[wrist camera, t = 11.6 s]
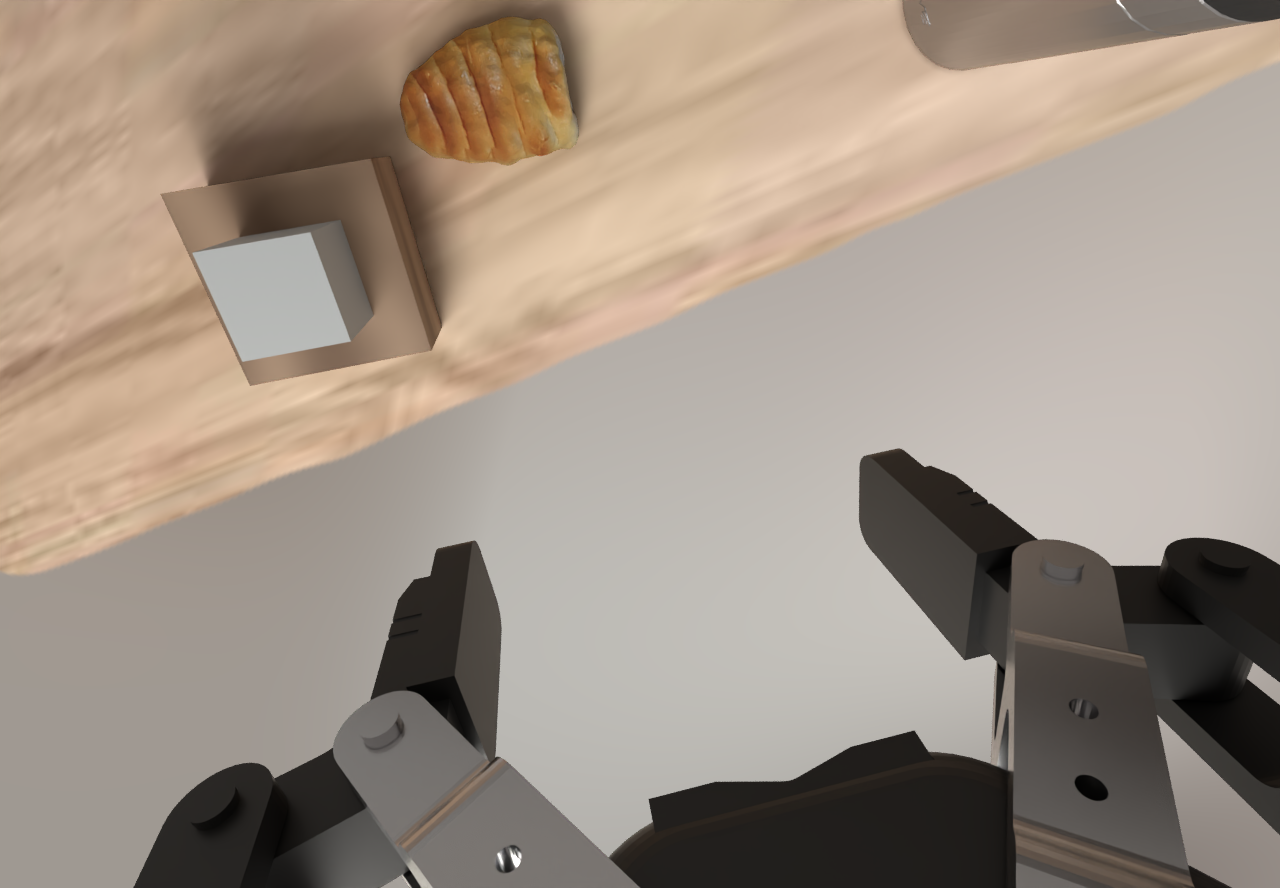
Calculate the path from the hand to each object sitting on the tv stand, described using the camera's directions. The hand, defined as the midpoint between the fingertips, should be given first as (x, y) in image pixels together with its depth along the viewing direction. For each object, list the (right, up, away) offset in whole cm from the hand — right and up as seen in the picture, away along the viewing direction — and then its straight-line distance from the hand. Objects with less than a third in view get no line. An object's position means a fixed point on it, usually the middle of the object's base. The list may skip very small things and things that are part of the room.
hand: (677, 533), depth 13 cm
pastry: (-9, +21, +23) cm, 32 cm away
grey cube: (-18, +10, +20) cm, 29 cm away
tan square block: (-19, +13, +24) cm, 33 cm away
